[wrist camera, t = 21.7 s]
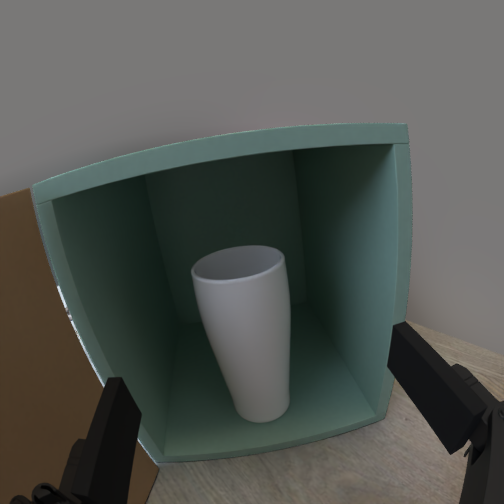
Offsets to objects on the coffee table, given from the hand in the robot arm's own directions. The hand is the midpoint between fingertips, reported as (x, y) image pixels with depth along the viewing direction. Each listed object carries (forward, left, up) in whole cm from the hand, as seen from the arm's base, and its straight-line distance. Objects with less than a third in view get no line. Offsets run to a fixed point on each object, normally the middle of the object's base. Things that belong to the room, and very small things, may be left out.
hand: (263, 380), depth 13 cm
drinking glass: (+8, -5, -13) cm, 16 cm away
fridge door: (+3, +17, -13) cm, 22 cm away
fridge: (+14, -8, -14) cm, 21 cm away
